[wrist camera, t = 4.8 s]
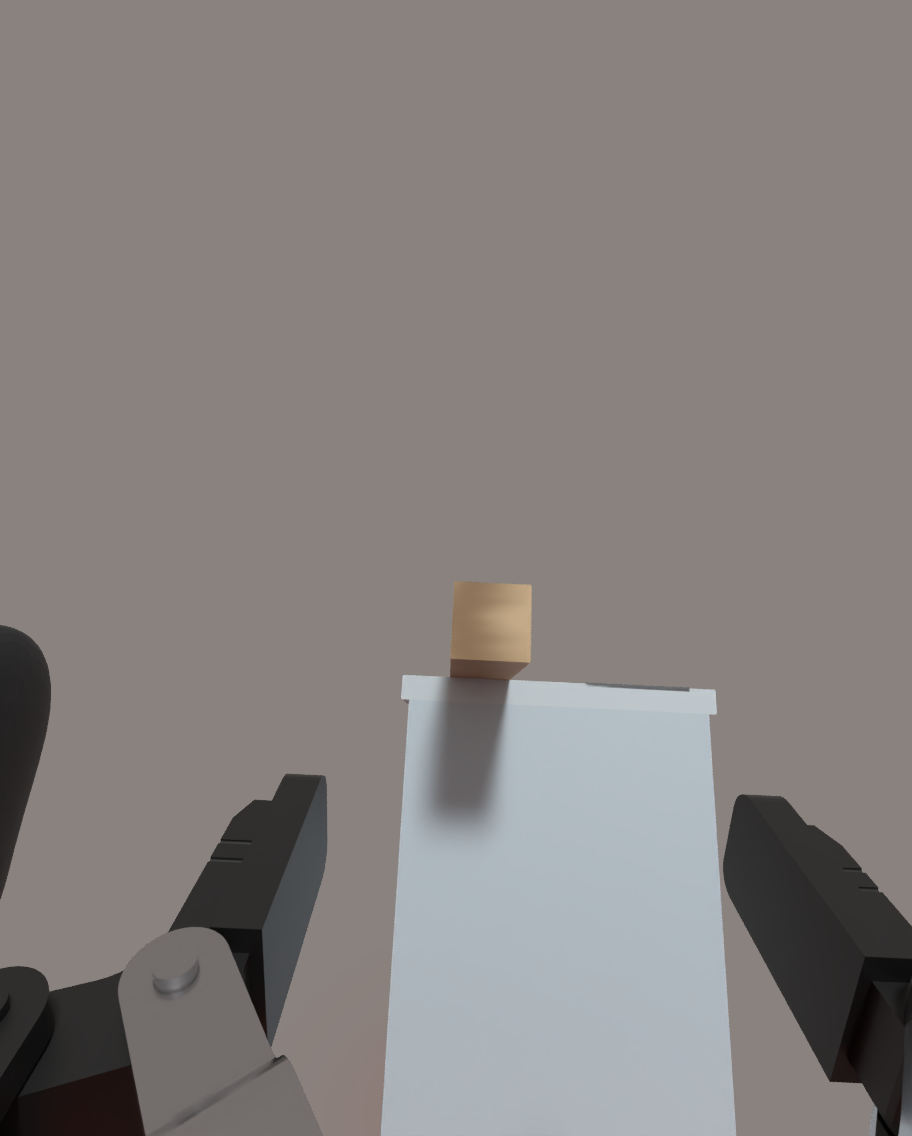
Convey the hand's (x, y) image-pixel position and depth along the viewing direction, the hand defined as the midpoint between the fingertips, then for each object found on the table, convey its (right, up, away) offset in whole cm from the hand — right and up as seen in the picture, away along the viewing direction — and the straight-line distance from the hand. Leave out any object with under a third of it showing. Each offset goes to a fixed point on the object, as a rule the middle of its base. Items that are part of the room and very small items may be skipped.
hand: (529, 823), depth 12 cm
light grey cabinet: (+2, -33, +16) cm, 37 cm away
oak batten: (0, -1, +21) cm, 21 cm away
